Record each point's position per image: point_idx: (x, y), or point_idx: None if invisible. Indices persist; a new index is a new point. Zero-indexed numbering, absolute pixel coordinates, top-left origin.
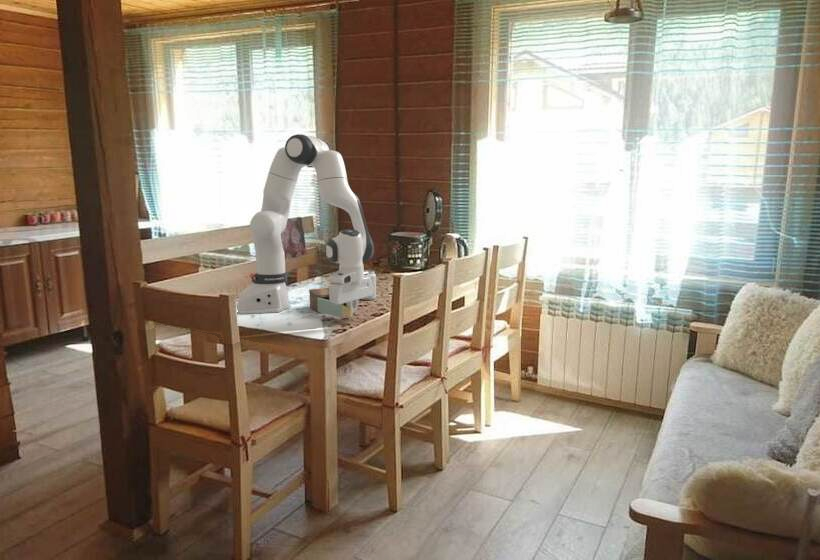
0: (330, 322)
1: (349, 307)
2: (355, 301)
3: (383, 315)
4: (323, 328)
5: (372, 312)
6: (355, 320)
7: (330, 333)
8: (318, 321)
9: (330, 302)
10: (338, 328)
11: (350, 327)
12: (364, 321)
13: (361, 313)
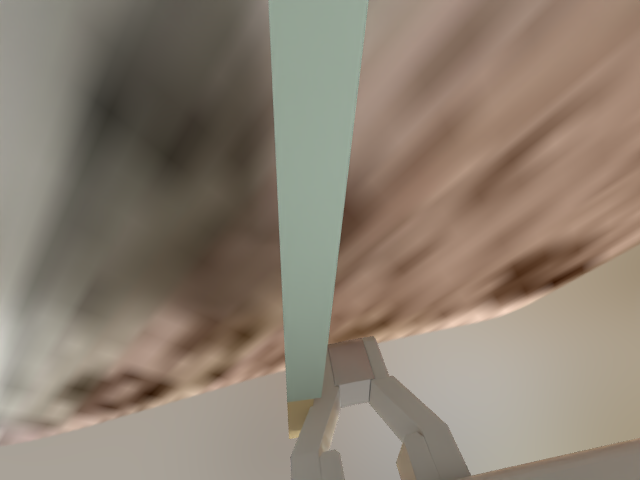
0: (150, 233)
1: (297, 426)
2: (401, 472)
3: (529, 303)
4: (14, 327)
5: (606, 213)
6: (346, 296)
7: (38, 404)
8: (15, 104)
9: (274, 68)
10: (133, 364)
11: (212, 374)
12: (359, 334)
13: (560, 178)
